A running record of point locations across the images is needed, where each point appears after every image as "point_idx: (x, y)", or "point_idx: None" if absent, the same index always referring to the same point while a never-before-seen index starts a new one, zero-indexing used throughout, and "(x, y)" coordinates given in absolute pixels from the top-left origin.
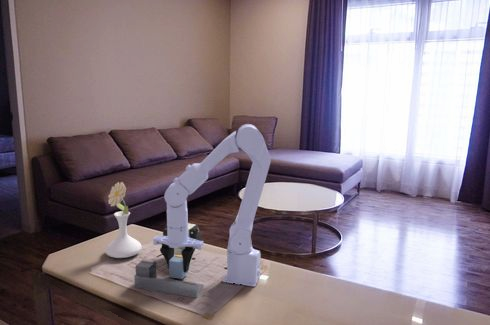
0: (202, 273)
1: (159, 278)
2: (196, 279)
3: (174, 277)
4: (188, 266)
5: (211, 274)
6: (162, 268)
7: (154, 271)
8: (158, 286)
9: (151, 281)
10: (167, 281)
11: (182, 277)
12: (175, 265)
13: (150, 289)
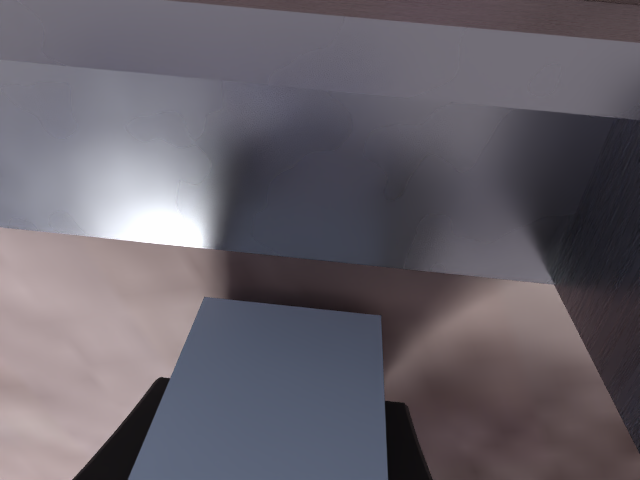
0: (102, 414)
1: (455, 82)
2: (93, 327)
3: (311, 311)
4: None
5: (15, 408)
6: (523, 452)
7: (624, 320)
8: (447, 3)
9: (630, 28)
10: (227, 6)
11: (199, 311)
12: (266, 463)
13: (587, 3)
